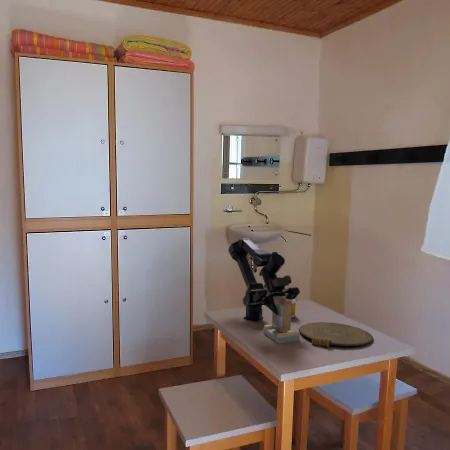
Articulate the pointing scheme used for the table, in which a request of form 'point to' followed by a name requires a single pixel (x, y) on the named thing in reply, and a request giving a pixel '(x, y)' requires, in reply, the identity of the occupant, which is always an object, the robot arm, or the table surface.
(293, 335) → the rail board
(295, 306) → the supplement bottle
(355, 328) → the decorative disc
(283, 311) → the wooden box
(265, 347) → the table surface
